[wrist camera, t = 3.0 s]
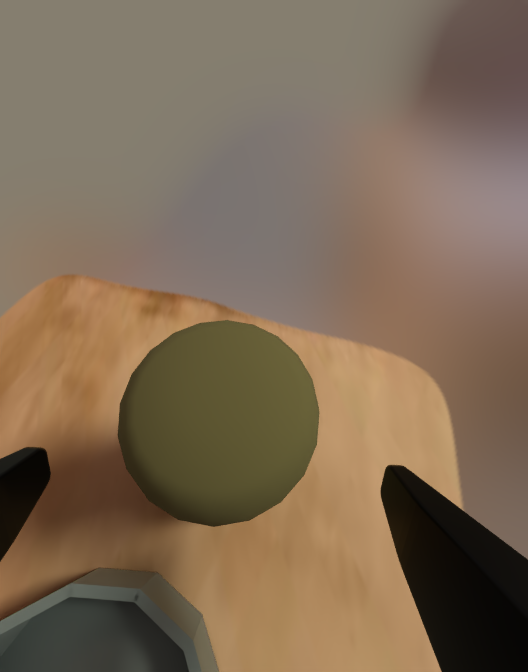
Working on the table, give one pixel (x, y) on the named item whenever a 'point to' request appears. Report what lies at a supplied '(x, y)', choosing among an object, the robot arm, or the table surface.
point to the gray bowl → (108, 628)
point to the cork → (218, 423)
